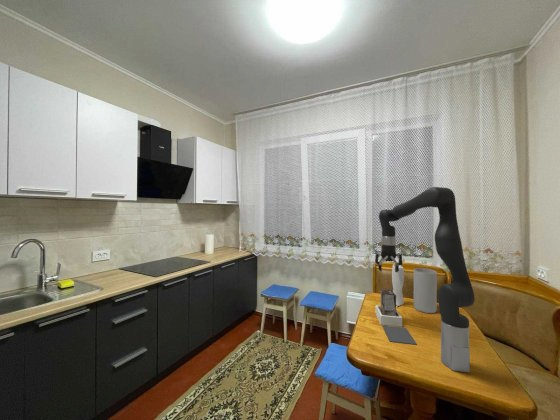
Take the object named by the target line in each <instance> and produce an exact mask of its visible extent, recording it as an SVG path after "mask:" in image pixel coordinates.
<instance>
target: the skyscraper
mask: <svg viewBox="0 0 560 420" xmlns="http://www.w3.org/2000/svg"><path fill="white" fill-rule="evenodd" d="M397 263H399V261H398V262H397ZM391 271H392V272H391V281H392V284H391V285H392V287H391V286H389V287H388V288H389V289H388V290H391V289H392V288H393V290H392V291H393V293H394V294H395V295H396V306H399V307H401V306H400V305H402V306H404V305H405V303H404V296H403V286H404V281H405V271H404V267H403V266H402V265H399V271H398V272H395V263H393V264H392V270H391ZM403 304H404V305H403Z"/></svg>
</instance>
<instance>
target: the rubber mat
mask: <svg viewBox="0 0 560 420" xmlns="http://www.w3.org/2000/svg"><path fill="white" fill-rule="evenodd" d="M381 326H382V329H383V331H384V333H385V335H386V336H387V339H388V341H389V342H390V343H398V344H405V345H415V346H417V345H418V342H416V340H415V339H414V337H413V336H412V334H411V333H410V331H409V330H408V328H407V327H403V326H402V327H398V326H388V325H381Z"/></svg>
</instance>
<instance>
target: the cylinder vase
mask: <svg viewBox="0 0 560 420" xmlns="http://www.w3.org/2000/svg"><path fill="white" fill-rule="evenodd" d="M437 275H438V273H437V271H436V270H433V269H430V268H423V267H417V268H413V308H414V309H415V310H416V311H419V312H420V313H425V314H426V313H427V314H434V313H436V312H437V309H438V308H437V306H438V305H437V304H438V303H437V300H438V299H437V298H438V292H437V291H438V290H437V288H438V287H437V286H438V285H437V284H438V282H437V281H438V276H437Z"/></svg>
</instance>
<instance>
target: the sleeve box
mask: <svg viewBox="0 0 560 420" xmlns="http://www.w3.org/2000/svg"><path fill="white" fill-rule="evenodd" d="M374 307H375V309H374V310H375V312H374V313H376V314H375V315H376V318H377V319H378V323H379V325H381V326H382V325H383V326H393V327H402V328H403V317H402V315H401V314H400V312H399V311H398V309H396V316H386V315H382V314H381V305H376V304H375V306H374Z"/></svg>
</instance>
